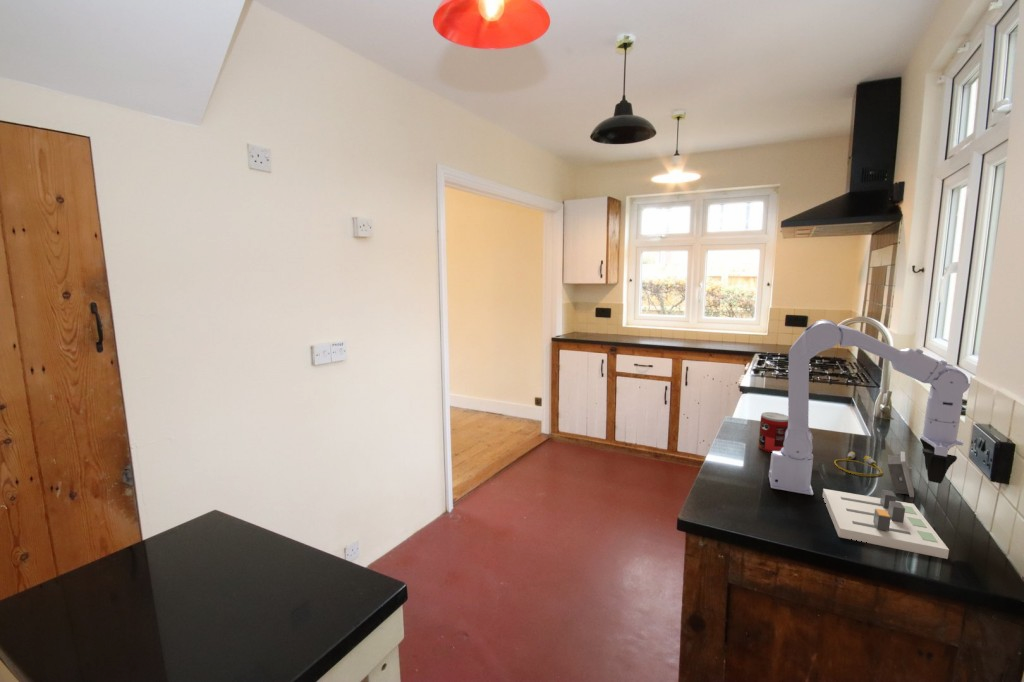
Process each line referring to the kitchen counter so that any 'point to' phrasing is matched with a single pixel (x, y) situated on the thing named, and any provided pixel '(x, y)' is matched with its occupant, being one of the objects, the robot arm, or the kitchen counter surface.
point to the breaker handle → (881, 519)
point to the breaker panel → (905, 523)
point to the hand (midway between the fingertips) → (933, 475)
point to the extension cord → (866, 458)
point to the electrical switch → (901, 474)
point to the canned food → (772, 431)
